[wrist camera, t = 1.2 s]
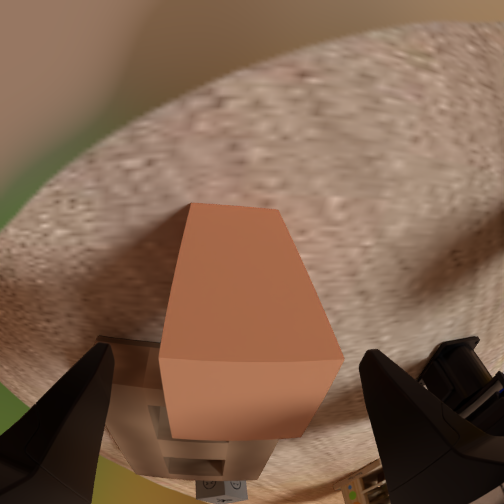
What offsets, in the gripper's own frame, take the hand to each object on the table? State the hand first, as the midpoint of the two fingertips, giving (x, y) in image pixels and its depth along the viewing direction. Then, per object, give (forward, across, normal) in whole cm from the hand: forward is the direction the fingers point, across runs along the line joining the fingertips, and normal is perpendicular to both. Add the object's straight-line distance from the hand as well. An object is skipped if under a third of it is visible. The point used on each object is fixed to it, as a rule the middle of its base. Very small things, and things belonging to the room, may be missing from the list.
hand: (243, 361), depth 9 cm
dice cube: (+8, -1, +36) cm, 37 cm away
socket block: (+8, +2, +18) cm, 20 cm away
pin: (+8, 0, 0) cm, 8 cm away
